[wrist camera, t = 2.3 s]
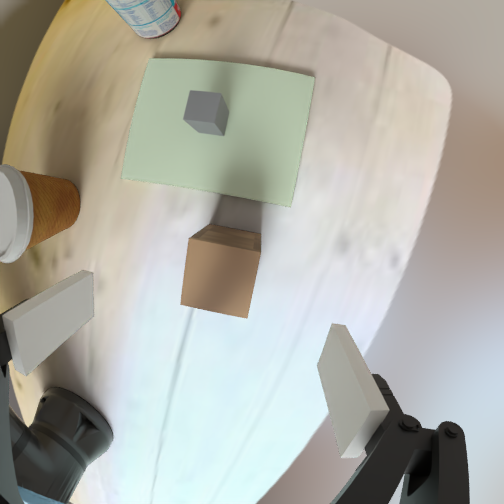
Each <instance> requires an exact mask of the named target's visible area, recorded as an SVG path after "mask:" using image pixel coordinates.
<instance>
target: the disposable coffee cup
mask: <svg viewBox="0 0 504 504" xmlns="http://www.w3.org/2000/svg"><path fill="white" fill-rule="evenodd" d="M79 211H80V197H79V193H78V191H77V188H76V187H75V185H74V184H73V183H72V182H71V181H69V180H67V179H61V178H56V177H51V176H46V175H41V174H35V173H30V172H25V171H19V170H17V169H15V168H14V167H13V166H10V165H7V164H4V165H0V261H1V262H3V263H11V262H14V261H15V260H17V259H18V258H19V257H20V256H21V255H22V253H23V252H24V251H25V250H27V249H29V248H31V247H33V246H35V245H36V244H38V243H40V242H42V241H44V240H46V239H48V238H50V237H51V236H53V235H55V234H57V233H59V232H61V231H63V230H65V229H67V228H69V227H71V226H72V225H73V224H74V223H75V221H76V219H77V217H78V215H79Z"/></svg>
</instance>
